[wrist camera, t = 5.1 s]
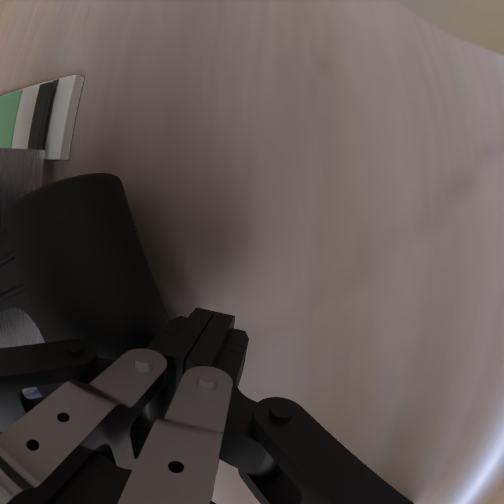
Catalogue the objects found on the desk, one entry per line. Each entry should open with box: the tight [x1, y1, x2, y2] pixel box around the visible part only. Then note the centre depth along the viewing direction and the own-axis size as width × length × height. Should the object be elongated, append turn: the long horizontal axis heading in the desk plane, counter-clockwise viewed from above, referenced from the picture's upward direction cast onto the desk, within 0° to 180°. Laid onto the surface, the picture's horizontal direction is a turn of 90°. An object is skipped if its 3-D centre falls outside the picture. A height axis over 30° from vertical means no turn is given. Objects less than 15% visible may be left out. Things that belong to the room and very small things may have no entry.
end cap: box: [0, 173, 169, 398], centre depth 11 cm, size 10×7×7 cm
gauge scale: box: [0, 74, 84, 160], centre depth 13 cm, size 12×5×1 cm, turn 81°
